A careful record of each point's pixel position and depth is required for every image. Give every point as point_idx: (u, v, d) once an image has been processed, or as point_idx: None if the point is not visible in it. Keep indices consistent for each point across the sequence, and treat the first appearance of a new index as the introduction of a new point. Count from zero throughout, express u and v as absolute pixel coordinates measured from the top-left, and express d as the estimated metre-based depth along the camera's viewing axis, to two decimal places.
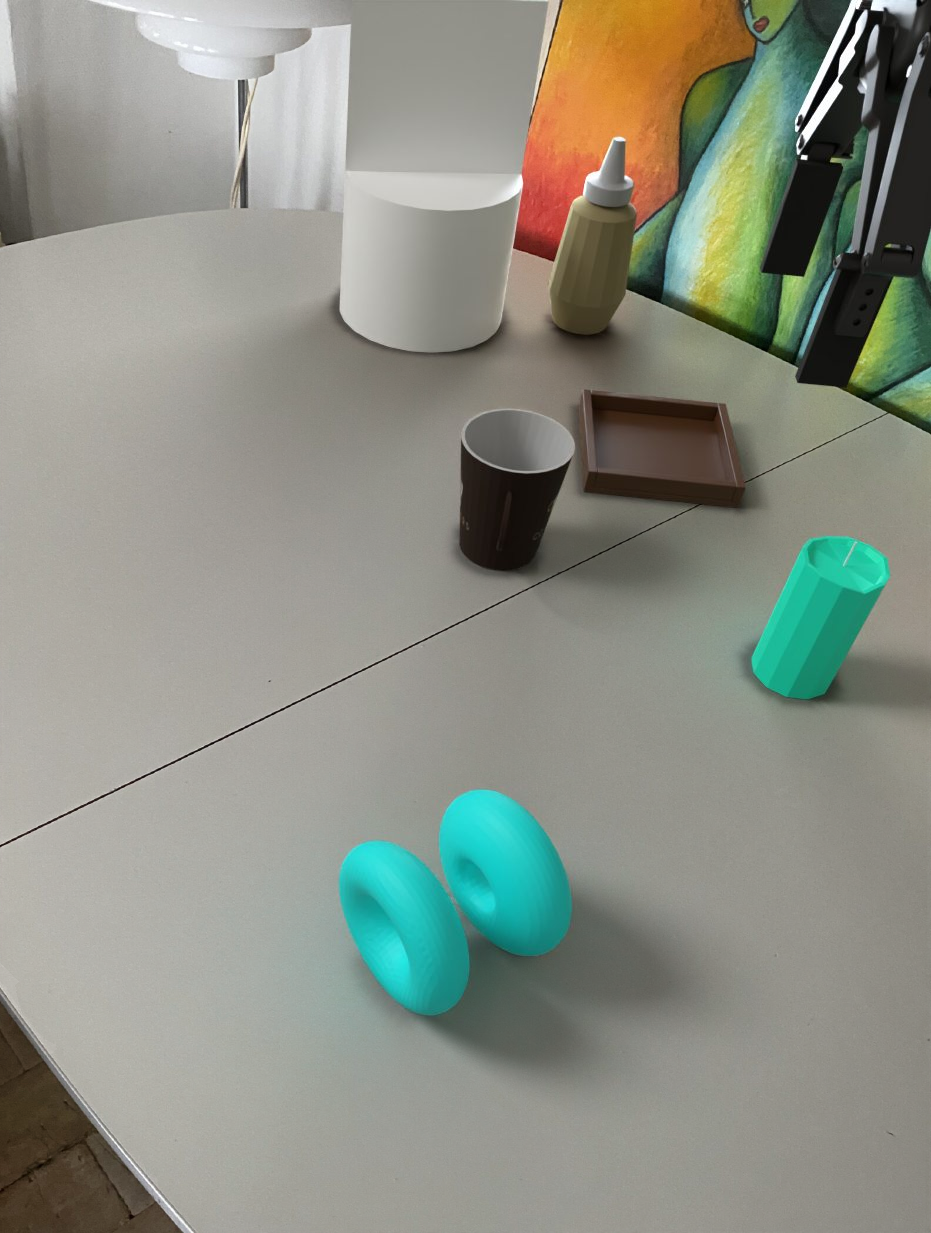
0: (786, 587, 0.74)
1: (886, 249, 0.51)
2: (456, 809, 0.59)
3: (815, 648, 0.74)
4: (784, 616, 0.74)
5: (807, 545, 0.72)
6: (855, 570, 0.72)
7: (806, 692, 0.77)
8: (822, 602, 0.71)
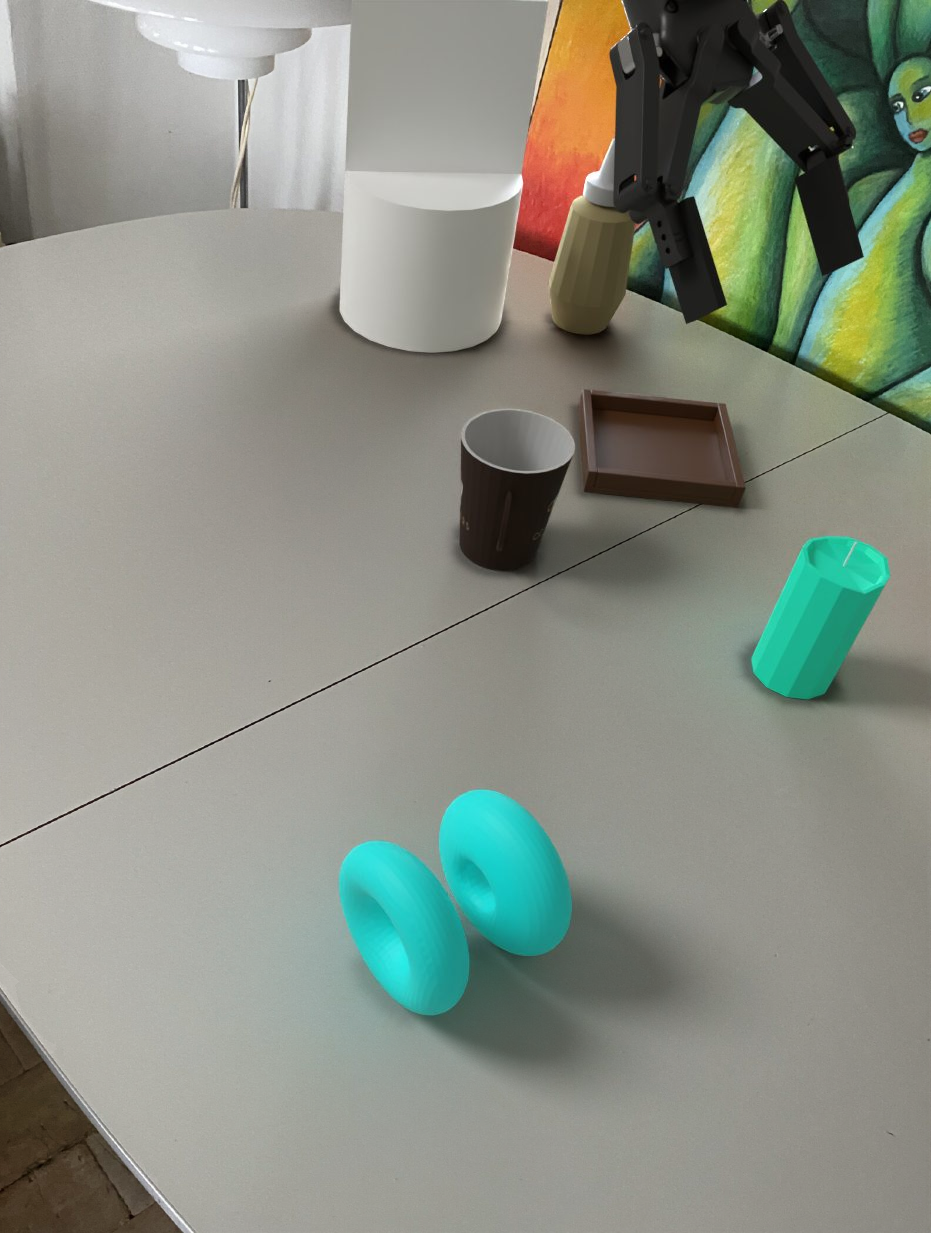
0: (786, 587, 0.74)
1: (625, 187, 0.63)
2: (456, 809, 0.59)
3: (815, 648, 0.74)
4: (784, 616, 0.74)
5: (807, 545, 0.72)
6: (855, 570, 0.72)
7: (806, 692, 0.77)
8: (822, 602, 0.71)
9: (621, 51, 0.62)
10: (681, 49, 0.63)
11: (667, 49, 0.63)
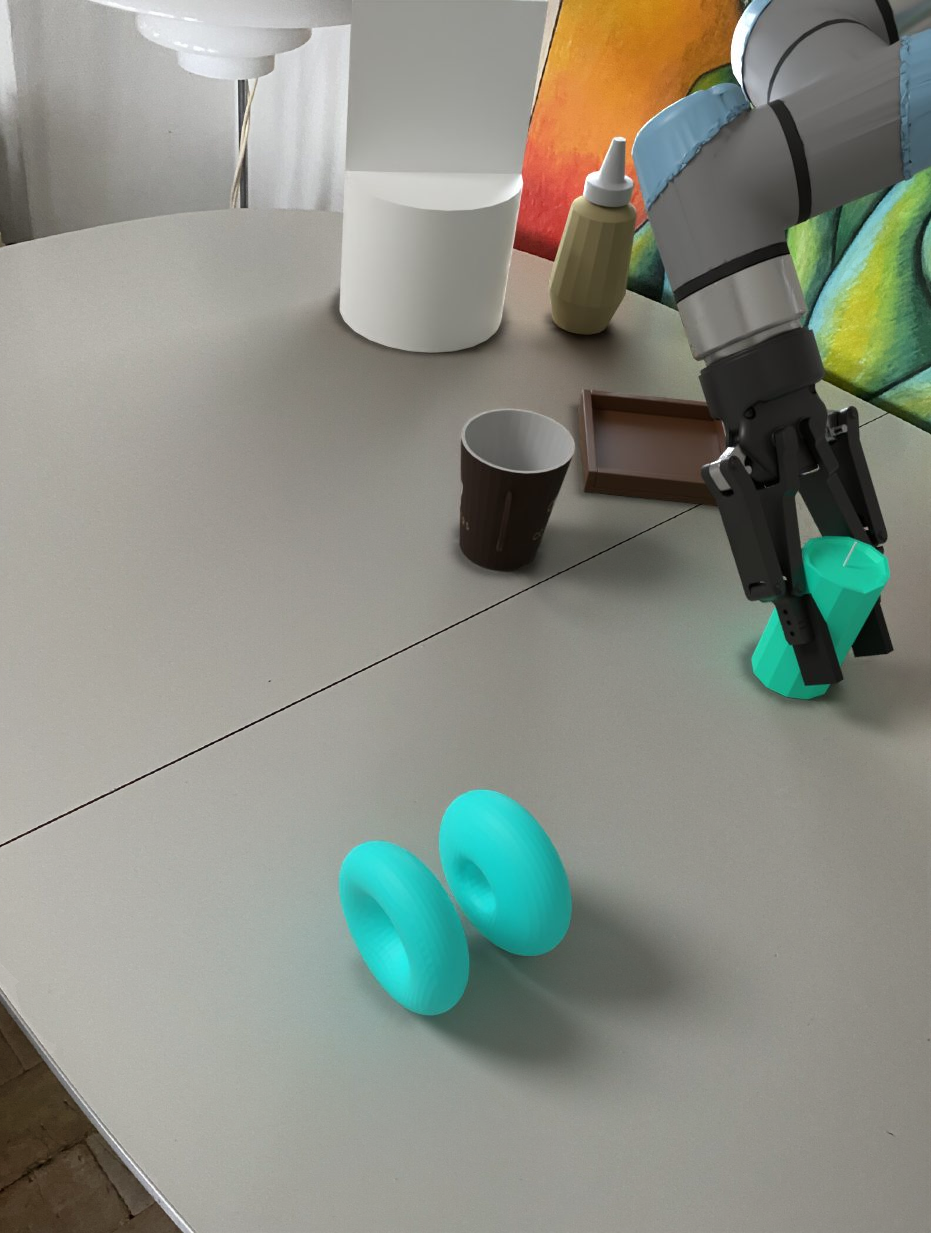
0: None
1: (756, 583, 0.72)
2: (456, 809, 0.59)
3: None
4: None
5: (807, 545, 0.72)
6: (855, 570, 0.72)
7: (806, 692, 0.77)
8: (822, 602, 0.71)
9: (714, 478, 0.70)
10: (757, 450, 0.70)
11: (745, 450, 0.70)
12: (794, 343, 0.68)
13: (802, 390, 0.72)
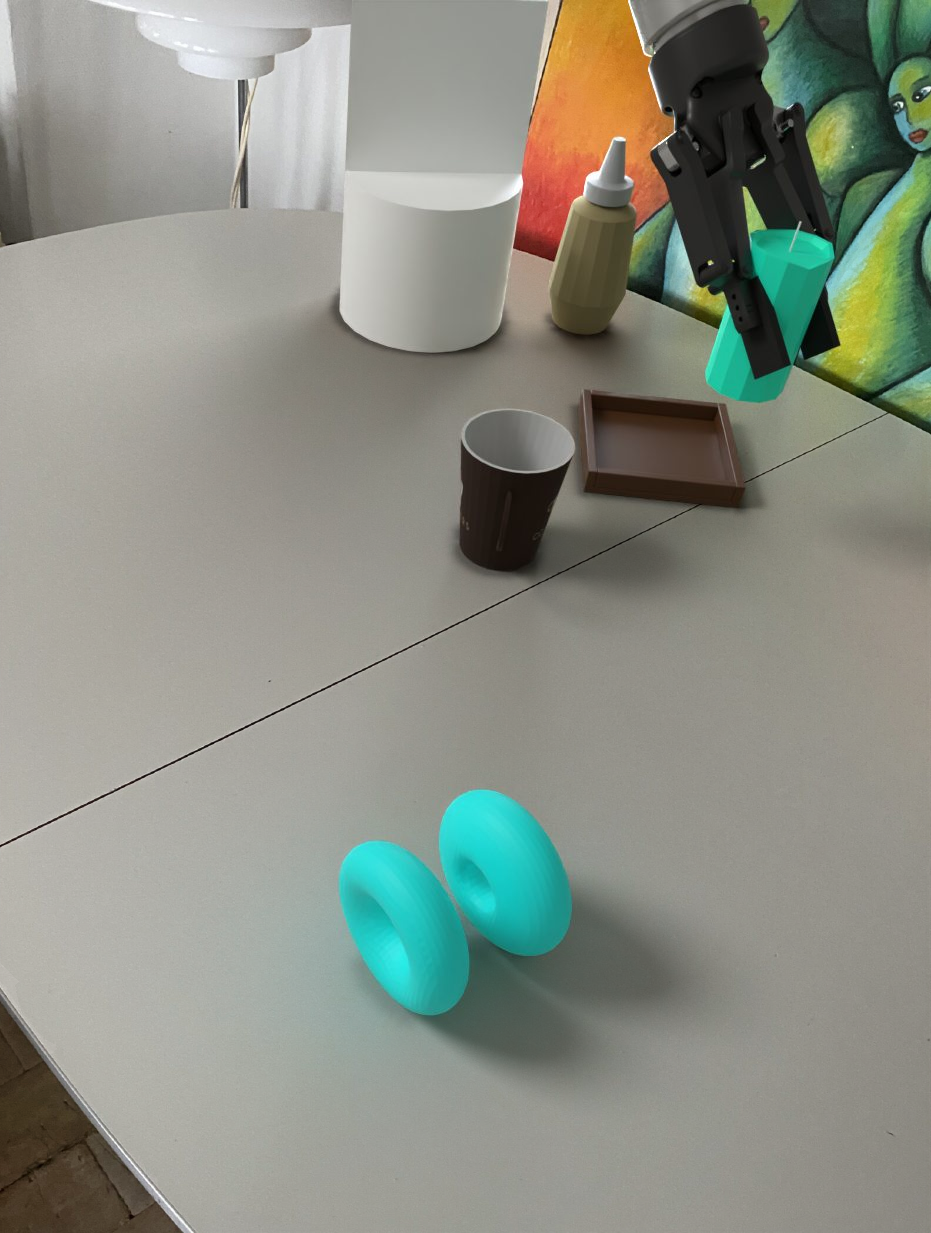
0: None
1: (705, 266, 0.74)
2: (456, 809, 0.59)
3: None
4: None
5: (755, 232, 0.75)
6: (801, 254, 0.74)
7: (757, 394, 0.79)
8: (769, 284, 0.74)
9: (663, 156, 0.72)
10: (704, 129, 0.72)
11: (692, 129, 0.72)
12: (738, 16, 0.70)
13: (748, 78, 0.74)
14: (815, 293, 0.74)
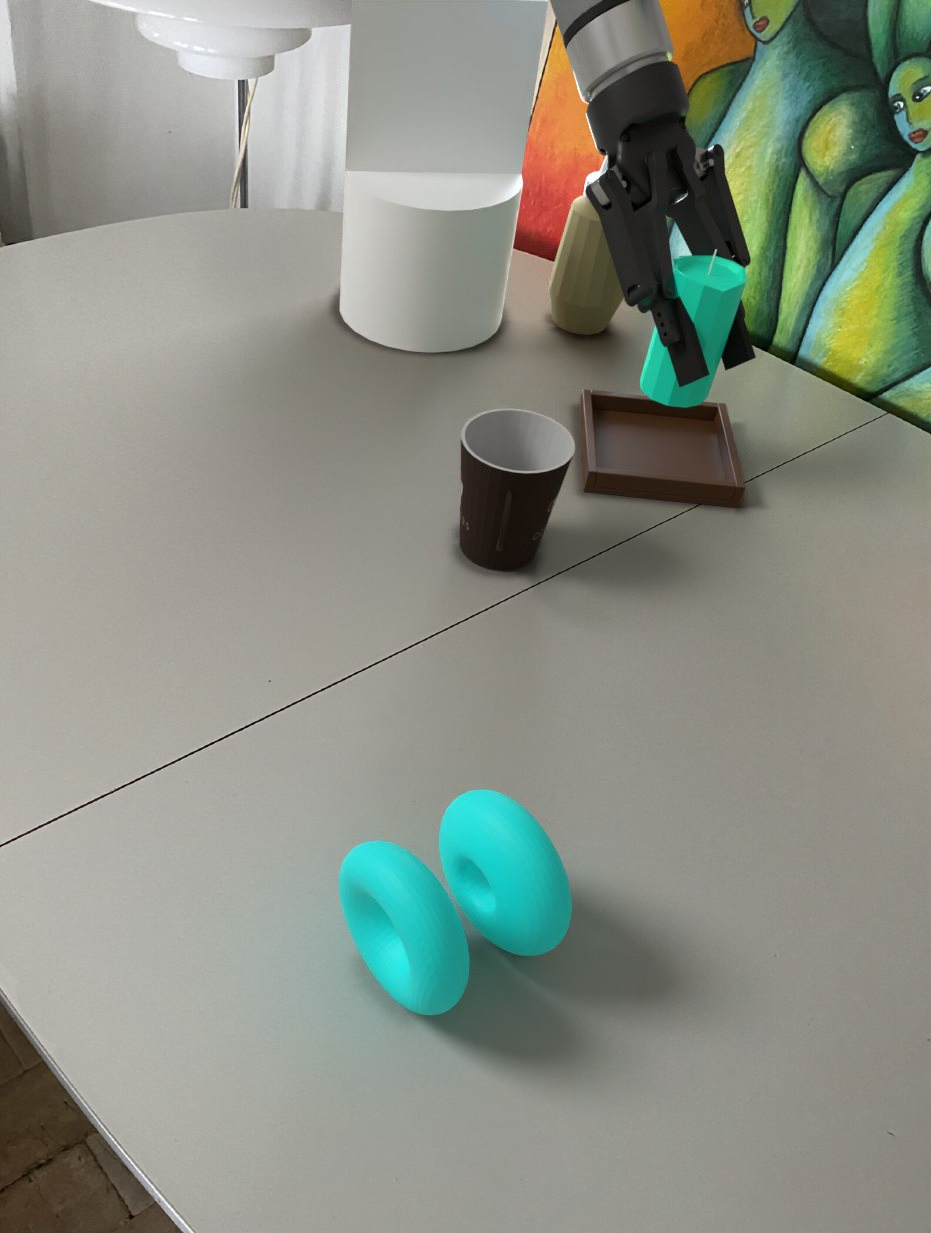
0: None
1: (633, 288, 0.85)
2: (456, 809, 0.59)
3: None
4: None
5: (678, 258, 0.85)
6: (718, 277, 0.85)
7: (683, 400, 0.90)
8: (689, 303, 0.84)
9: (596, 192, 0.83)
10: (632, 169, 0.83)
11: (622, 169, 0.83)
12: (660, 71, 0.80)
13: (673, 124, 0.84)
14: (730, 312, 0.85)
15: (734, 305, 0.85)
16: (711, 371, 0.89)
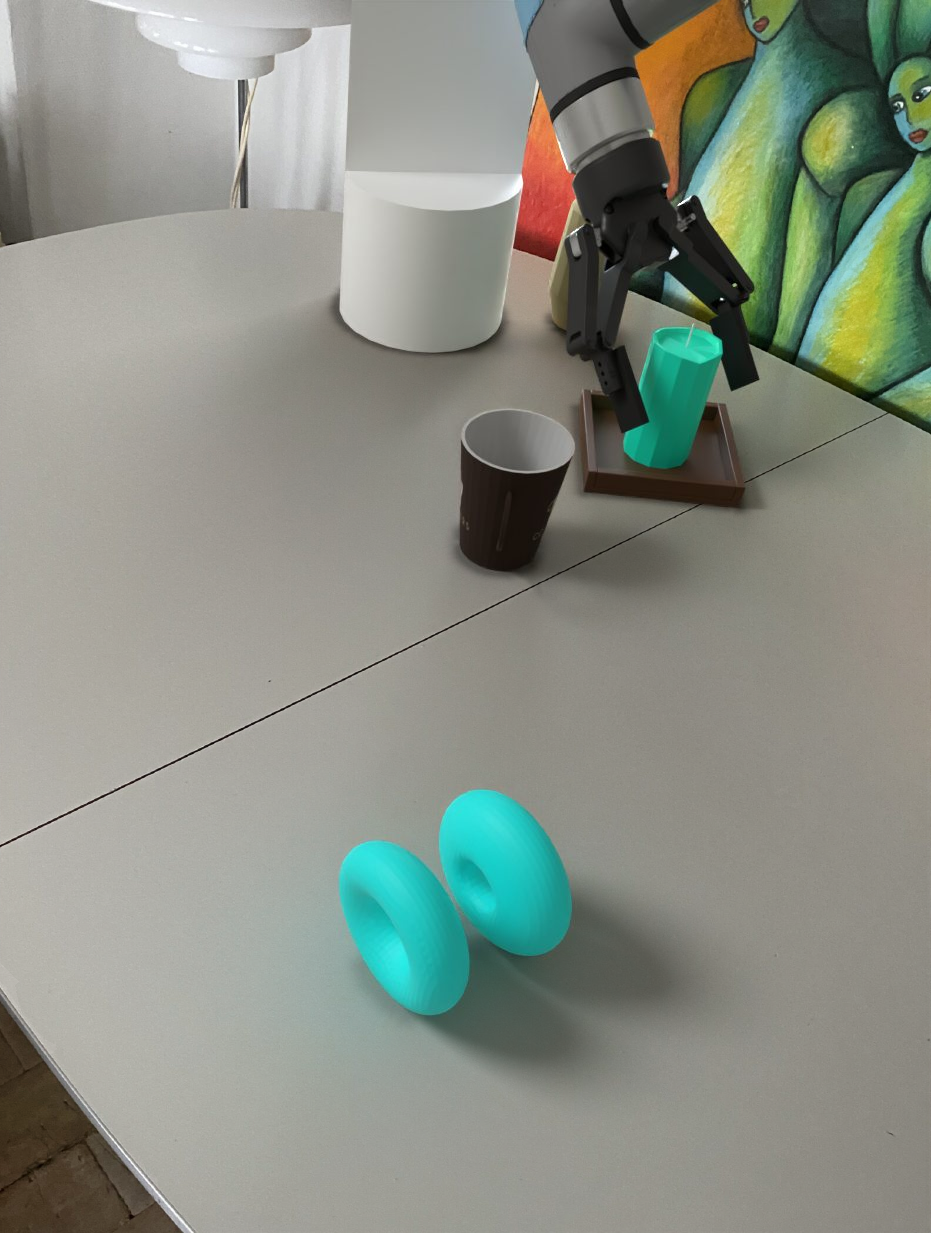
0: (644, 369, 0.92)
1: (574, 339, 0.87)
2: (456, 809, 0.59)
3: (667, 418, 0.91)
4: (642, 393, 0.92)
5: (658, 330, 0.90)
6: (695, 349, 0.89)
7: (664, 461, 0.95)
8: (668, 374, 0.89)
9: (572, 242, 0.86)
10: (616, 239, 0.87)
11: (606, 239, 0.87)
12: (641, 148, 0.85)
13: (655, 195, 0.88)
14: (707, 382, 0.89)
15: (711, 375, 0.89)
16: (690, 435, 0.93)
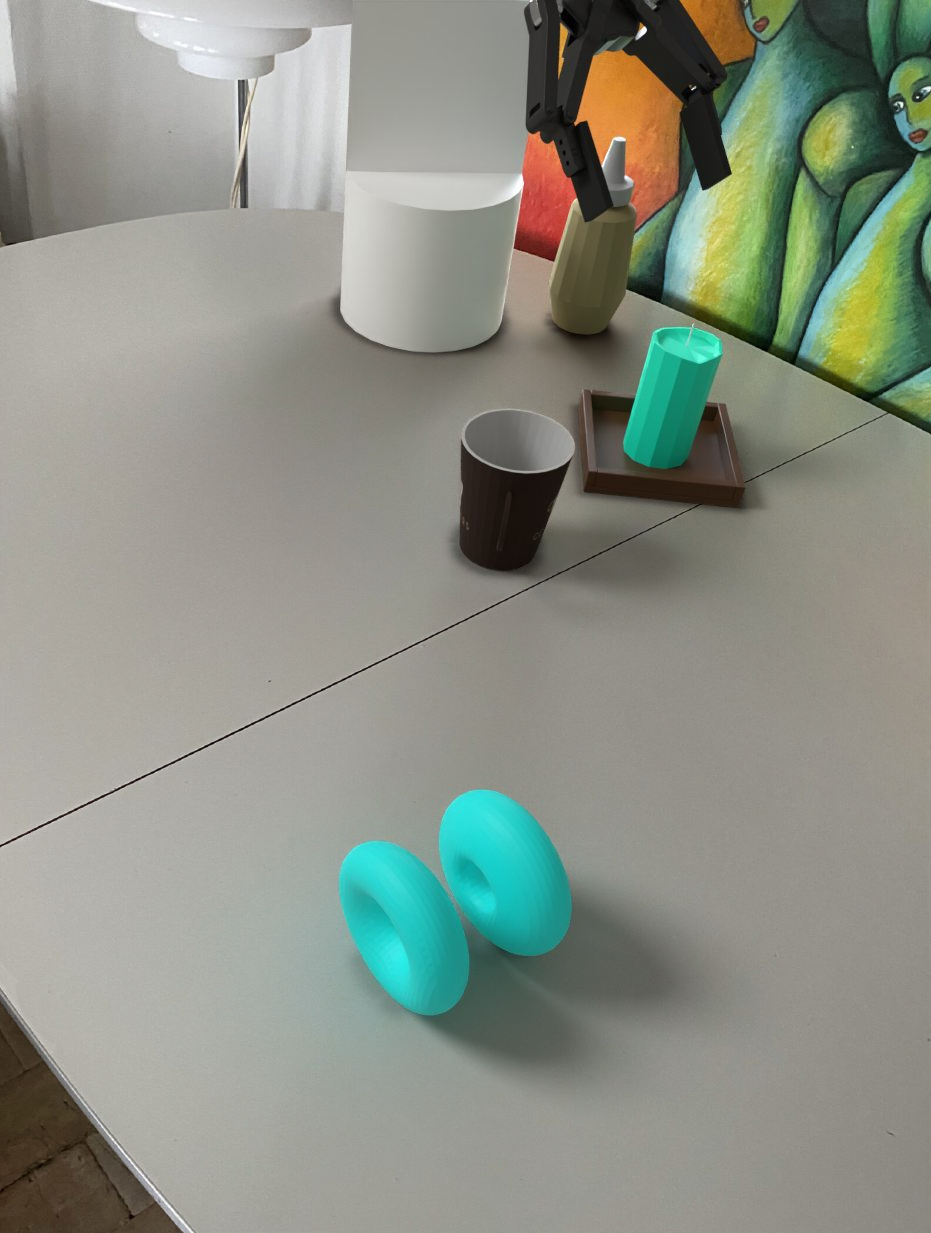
0: (644, 369, 0.92)
1: (534, 113, 0.82)
2: (456, 809, 0.59)
3: (667, 418, 0.91)
4: (642, 393, 0.92)
5: (658, 330, 0.90)
6: (695, 349, 0.89)
7: (664, 461, 0.95)
8: (668, 374, 0.89)
9: (532, 8, 0.81)
10: (579, 7, 0.82)
11: (568, 7, 0.82)
12: None
13: None
14: (707, 382, 0.89)
15: (711, 375, 0.89)
16: (690, 435, 0.93)
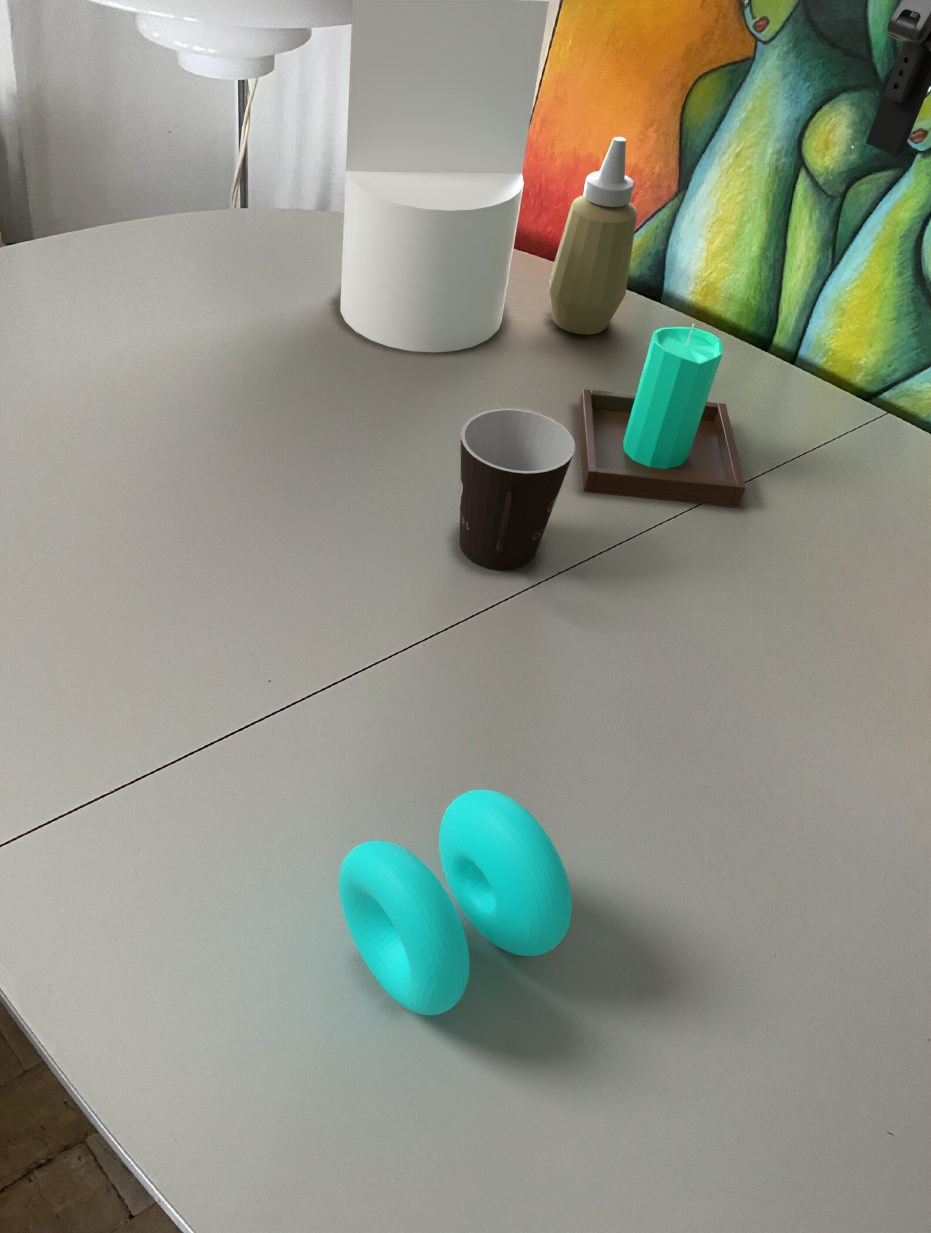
0: (644, 369, 0.92)
1: (905, 15, 0.70)
2: (456, 809, 0.59)
3: (667, 418, 0.91)
4: (642, 393, 0.92)
5: (658, 330, 0.90)
6: (695, 349, 0.89)
7: (664, 461, 0.95)
8: (668, 374, 0.89)
9: None
10: None
11: None
12: None
13: None
14: (707, 382, 0.89)
15: (711, 375, 0.89)
16: (690, 435, 0.93)
